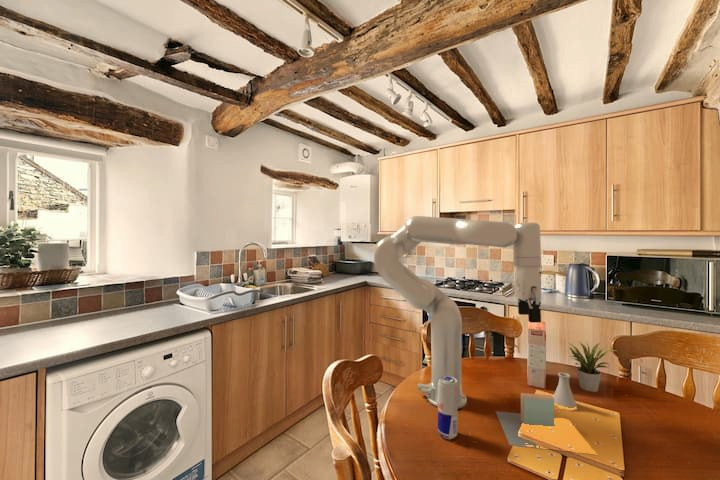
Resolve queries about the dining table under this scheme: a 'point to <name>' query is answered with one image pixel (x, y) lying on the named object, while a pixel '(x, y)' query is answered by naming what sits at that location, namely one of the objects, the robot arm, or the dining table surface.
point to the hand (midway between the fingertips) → (529, 318)
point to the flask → (564, 392)
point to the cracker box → (537, 354)
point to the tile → (537, 409)
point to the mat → (513, 428)
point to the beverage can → (447, 407)
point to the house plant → (589, 367)
